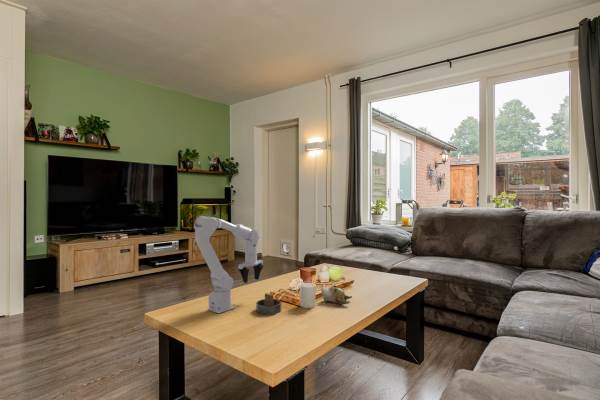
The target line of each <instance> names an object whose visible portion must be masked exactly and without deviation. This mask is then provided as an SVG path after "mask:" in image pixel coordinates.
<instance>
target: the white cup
mask: <svg viewBox="0 0 600 400" xmlns="http://www.w3.org/2000/svg"><path fill="white" fill-rule="evenodd" d="M298 287H299V300H300V301H299V303H300V304H299V306H300V307H301V308H304V309H311V308H314V307H315V305H316V291H317V289H316V288H317V285H316V284H315V283H314V282H301V283H299V285H298Z"/></svg>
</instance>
